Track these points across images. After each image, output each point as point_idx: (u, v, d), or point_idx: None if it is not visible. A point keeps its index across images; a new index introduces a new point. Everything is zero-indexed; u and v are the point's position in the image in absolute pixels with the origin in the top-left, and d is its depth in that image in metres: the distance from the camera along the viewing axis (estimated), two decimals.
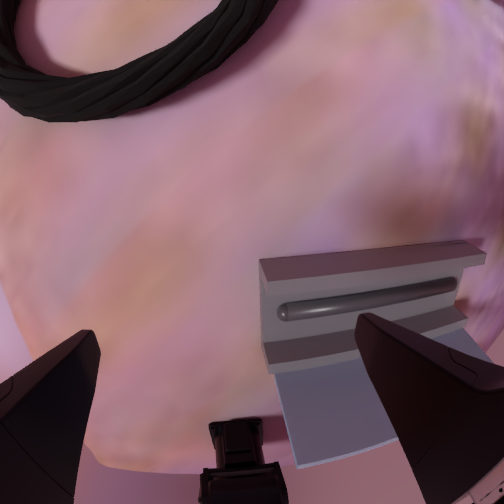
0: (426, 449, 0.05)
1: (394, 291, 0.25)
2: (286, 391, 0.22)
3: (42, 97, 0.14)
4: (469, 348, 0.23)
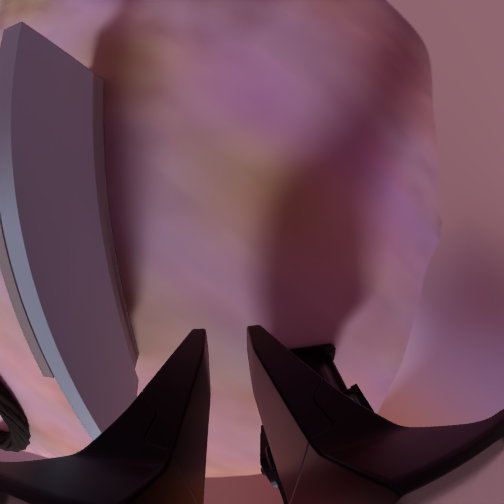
0: (292, 491, 0.05)
1: None
2: None
3: (15, 434, 0.24)
4: None
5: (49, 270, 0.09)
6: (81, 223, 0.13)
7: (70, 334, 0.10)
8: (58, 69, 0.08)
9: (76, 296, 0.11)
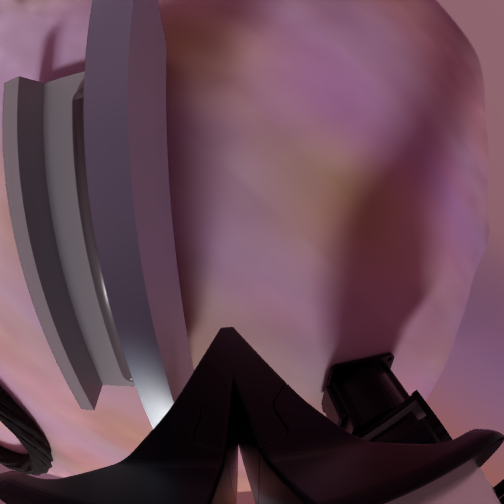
0: (257, 496, 0.05)
1: (84, 242, 0.16)
2: None
3: (36, 460, 0.22)
4: None
5: (162, 314, 0.07)
6: (168, 237, 0.11)
7: (180, 392, 0.08)
8: (155, 23, 0.06)
9: (175, 337, 0.09)
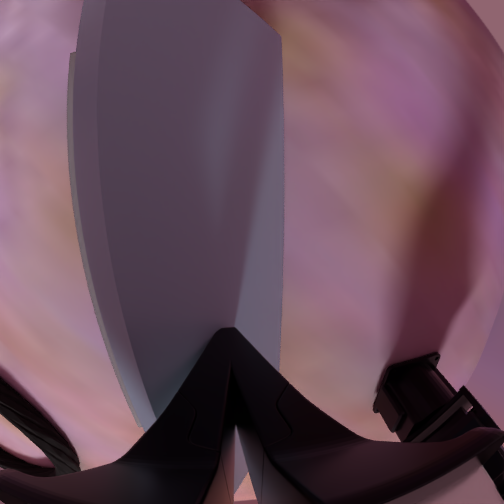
0: (260, 496, 0.05)
1: None
2: None
3: None
4: None
5: (174, 327, 0.07)
6: (252, 245, 0.10)
7: None
8: (217, 10, 0.06)
9: None
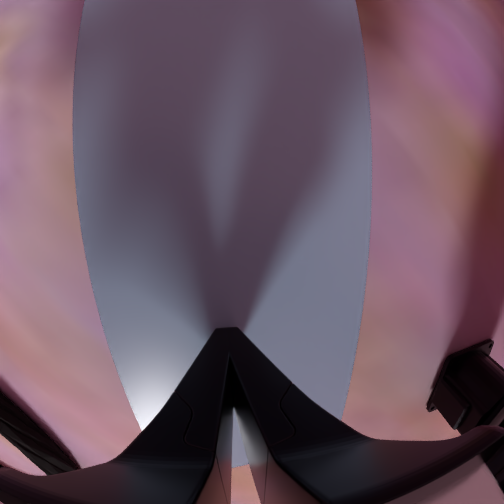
0: (263, 496, 0.05)
1: None
2: None
3: None
4: None
5: (123, 184, 0.07)
6: (282, 150, 0.08)
7: (140, 289, 0.08)
8: None
9: (198, 252, 0.08)
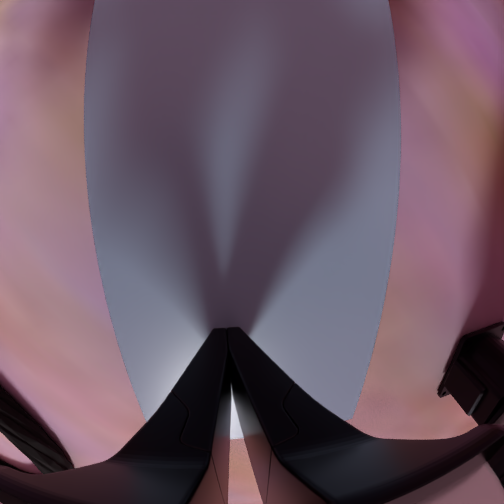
0: (265, 495, 0.05)
1: None
2: None
3: None
4: None
5: (130, 93, 0.06)
6: (298, 67, 0.07)
7: (137, 202, 0.07)
8: None
9: (202, 165, 0.07)
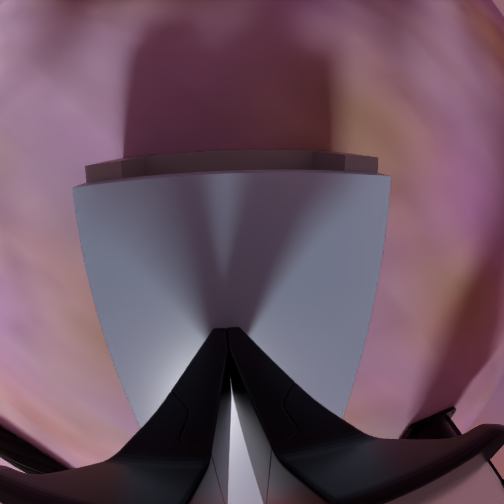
0: (266, 495, 0.05)
1: None
2: None
3: None
4: None
5: None
6: None
7: None
8: (211, 214, 0.08)
9: None
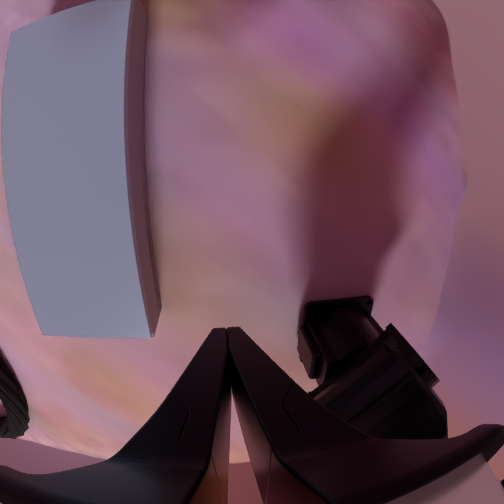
0: (266, 495, 0.05)
1: None
2: None
3: (12, 416, 0.23)
4: None
5: (16, 153, 0.13)
6: (71, 129, 0.13)
7: (21, 199, 0.14)
8: (52, 26, 0.10)
9: (40, 181, 0.14)
